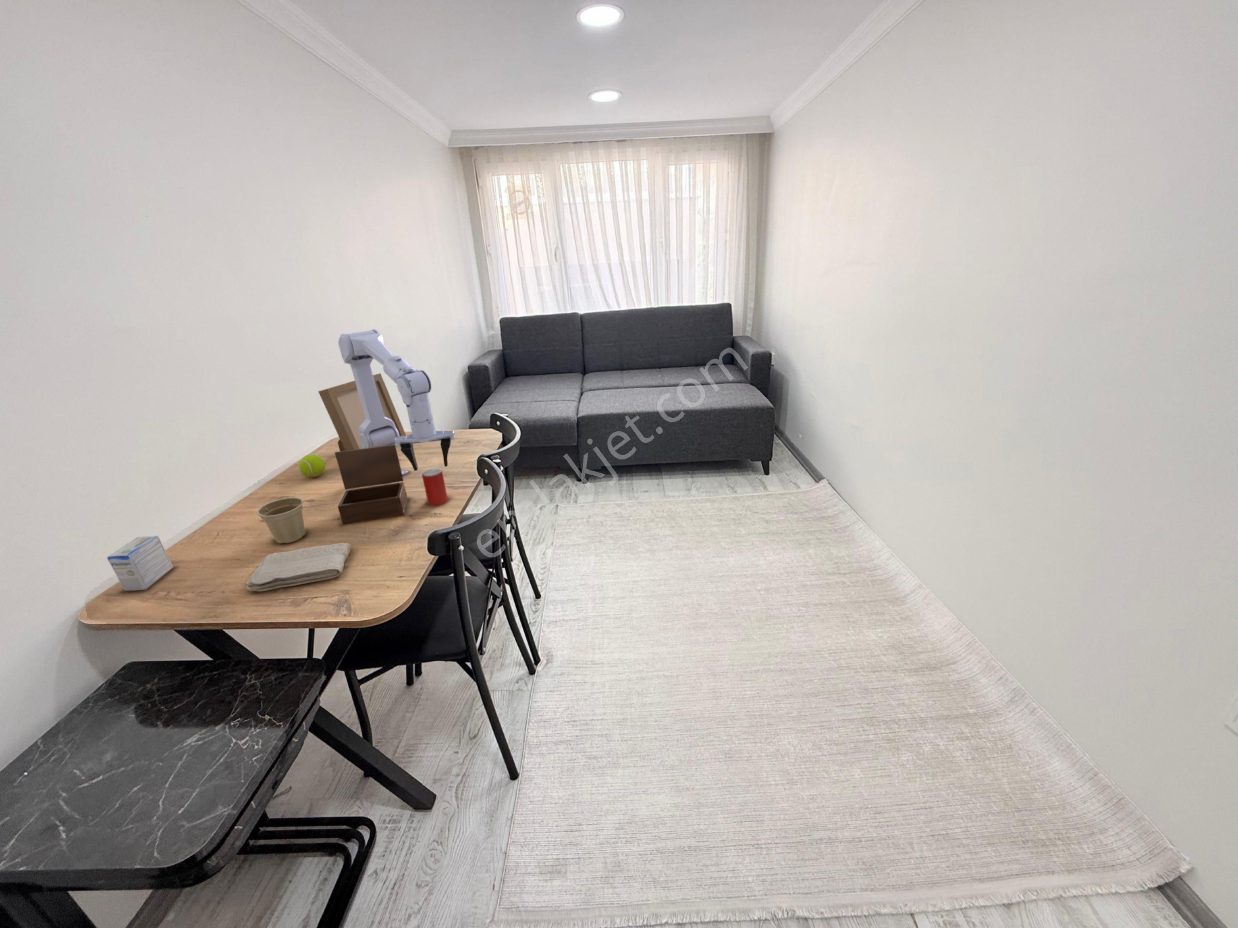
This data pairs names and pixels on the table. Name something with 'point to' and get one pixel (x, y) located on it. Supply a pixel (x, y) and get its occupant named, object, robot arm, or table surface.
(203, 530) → the table surface
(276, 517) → the flower pot
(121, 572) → the medicine box
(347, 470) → the lid
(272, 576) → the washcloth
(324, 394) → the photo frame
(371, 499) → the storage box
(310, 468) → the tennis ball
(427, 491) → the can
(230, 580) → the table surface
